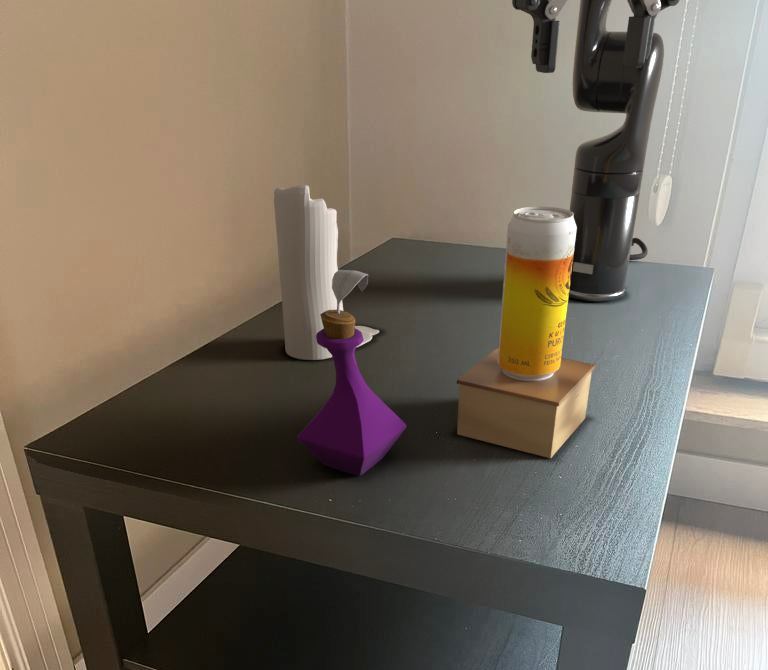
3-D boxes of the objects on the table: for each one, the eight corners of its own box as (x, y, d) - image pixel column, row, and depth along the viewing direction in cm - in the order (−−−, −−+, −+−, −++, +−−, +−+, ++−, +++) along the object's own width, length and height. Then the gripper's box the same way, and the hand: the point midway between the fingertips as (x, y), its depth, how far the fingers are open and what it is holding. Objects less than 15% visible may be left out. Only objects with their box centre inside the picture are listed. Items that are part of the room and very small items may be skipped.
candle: (390, 334, 104) (390, 170, 94) (312, 365, 96) (302, 189, 85) (351, 321, 109) (347, 163, 98) (273, 350, 100) (259, 180, 89)
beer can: (558, 385, 76) (578, 222, 68) (494, 381, 77) (506, 219, 69) (559, 361, 81) (578, 206, 73) (499, 357, 82) (511, 204, 74)
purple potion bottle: (364, 489, 72) (360, 291, 62) (298, 468, 75) (284, 277, 65) (407, 455, 77) (409, 268, 67) (343, 436, 80) (336, 255, 71)
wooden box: (496, 397, 88) (500, 345, 85) (587, 418, 84) (595, 364, 80) (454, 434, 81) (456, 379, 77) (551, 460, 76) (559, 402, 73)
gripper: (669, -170, 64) (636, 62, 73) (508, -176, 60) (494, 69, 69) (732, -185, 58) (687, 69, 67) (557, -193, 54) (535, 78, 63)
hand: (589, 69), depth 68 cm, fingers open, 8 cm apart
